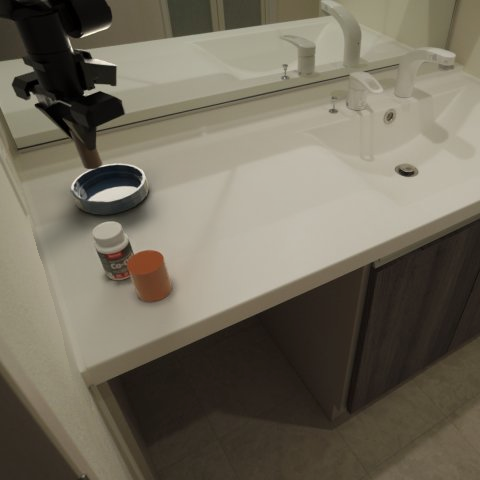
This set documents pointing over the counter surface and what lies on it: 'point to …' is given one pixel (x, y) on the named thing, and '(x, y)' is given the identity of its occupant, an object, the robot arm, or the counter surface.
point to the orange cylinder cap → (149, 275)
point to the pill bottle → (113, 249)
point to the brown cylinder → (87, 154)
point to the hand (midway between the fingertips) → (86, 146)
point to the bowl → (110, 189)
